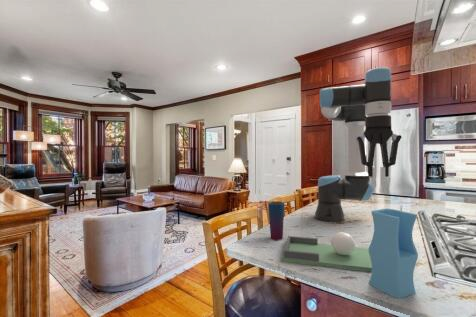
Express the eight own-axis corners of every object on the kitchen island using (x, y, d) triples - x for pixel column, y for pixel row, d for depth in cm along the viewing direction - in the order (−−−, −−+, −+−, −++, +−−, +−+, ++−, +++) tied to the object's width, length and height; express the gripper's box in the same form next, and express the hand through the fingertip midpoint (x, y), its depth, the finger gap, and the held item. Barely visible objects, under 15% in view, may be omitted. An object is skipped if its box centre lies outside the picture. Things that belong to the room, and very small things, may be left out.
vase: (397, 299, 58) (397, 218, 57) (368, 283, 65) (368, 211, 64) (417, 291, 61) (417, 214, 60) (387, 277, 68) (387, 208, 67)
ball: (343, 248, 86) (343, 228, 85) (360, 257, 78) (360, 234, 78) (326, 251, 83) (326, 230, 83) (342, 260, 76) (342, 237, 76)
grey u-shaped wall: (317, 244, 90) (317, 238, 90) (319, 261, 76) (318, 254, 76) (288, 241, 93) (288, 235, 93) (284, 257, 79) (284, 250, 79)
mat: (382, 252, 84) (382, 249, 84) (398, 275, 69) (398, 271, 69) (285, 243, 94) (285, 240, 94) (281, 261, 79) (281, 257, 79)
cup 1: (274, 234, 105) (274, 200, 105) (287, 237, 101) (287, 202, 100) (265, 238, 101) (264, 203, 100) (278, 242, 96) (278, 205, 95)
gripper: (354, 115, 78) (355, 187, 78) (408, 112, 73) (408, 188, 74) (351, 119, 85) (351, 184, 85) (400, 116, 80) (400, 185, 81)
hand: (377, 186), depth 79 cm, fingers open, 2 cm apart
